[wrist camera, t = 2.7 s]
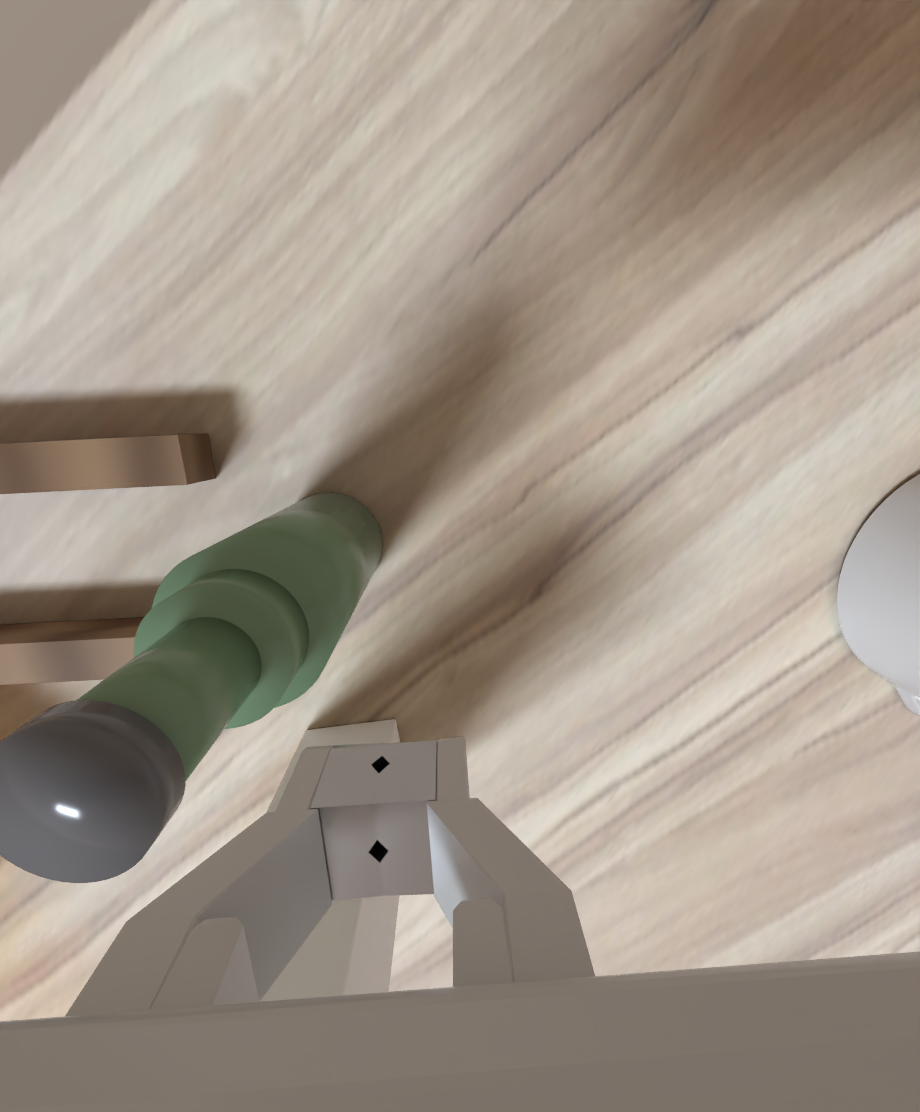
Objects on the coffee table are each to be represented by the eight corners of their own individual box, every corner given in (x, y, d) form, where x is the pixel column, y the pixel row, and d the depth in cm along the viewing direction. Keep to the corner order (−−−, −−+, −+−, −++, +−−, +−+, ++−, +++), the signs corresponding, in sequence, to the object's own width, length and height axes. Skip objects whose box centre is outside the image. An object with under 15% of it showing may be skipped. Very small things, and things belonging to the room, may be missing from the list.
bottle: (377, 489, 27) (195, 653, 8) (386, 587, 28) (254, 926, 9) (274, 495, 27) (-169, 672, 8) (289, 592, 28) (-49, 944, 9)
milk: (396, 716, 31) (282, 1357, 10) (411, 794, 32) (341, 1492, 11) (303, 729, 31) (-16, 1392, 10) (322, 806, 33) (85, 1522, 11)
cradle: (208, 433, 26) (165, 435, 22) (246, 648, 29) (216, 682, 26) (-162, 452, 26) (-270, 457, 22) (-81, 665, 29) (-161, 702, 25)
